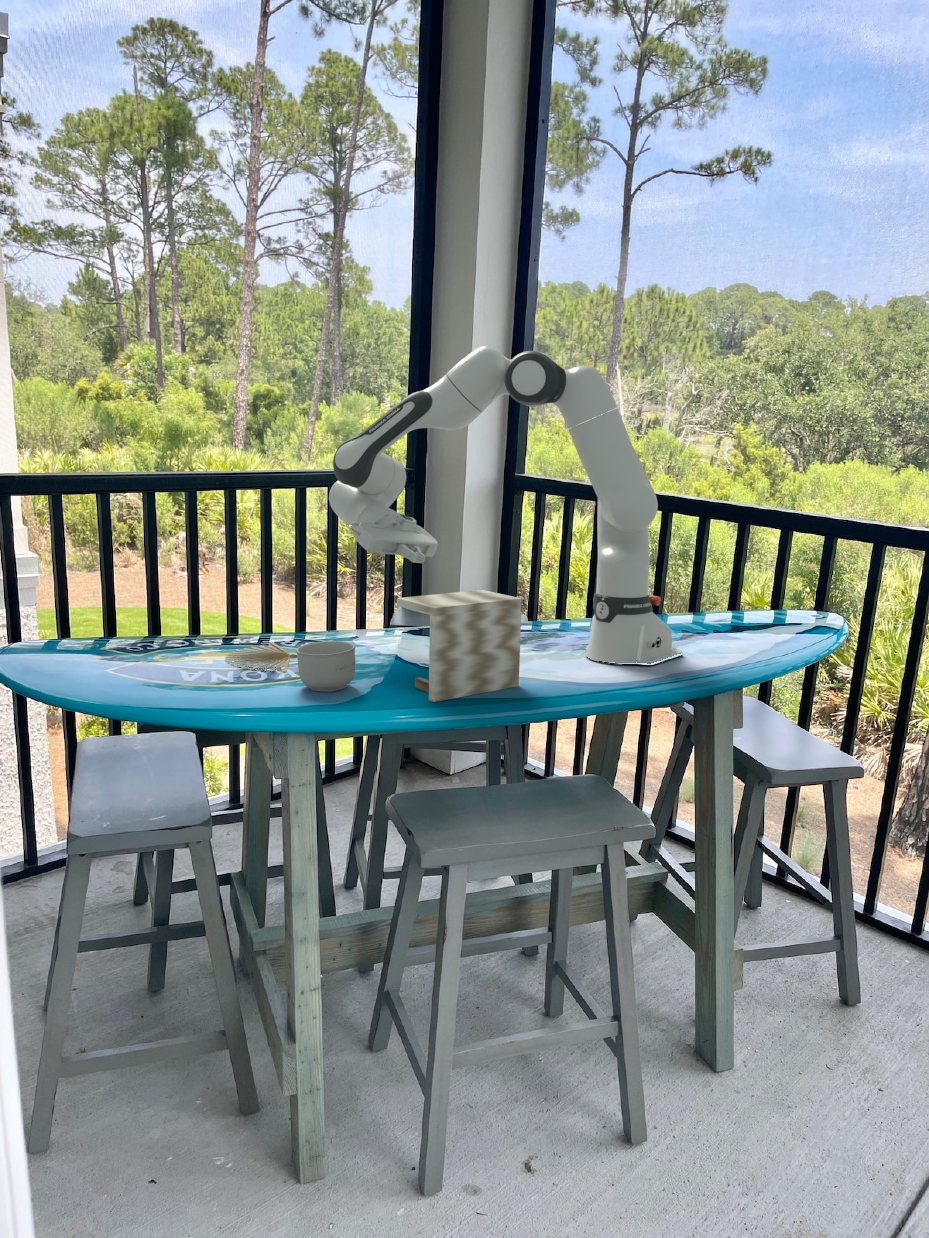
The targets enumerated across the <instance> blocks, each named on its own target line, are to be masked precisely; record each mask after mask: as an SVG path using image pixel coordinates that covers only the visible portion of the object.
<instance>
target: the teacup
mask: <svg viewBox="0 0 929 1238" xmlns="http://www.w3.org/2000/svg"><path fill="white" fill-rule="evenodd" d="M295 653H296V655H297V658H296V659H297V669H298V675H299V679H300V681H301V682H302V684H304V686H306V687H307V688H308V689H310V690H312V691H314V692H319V691H322V692H323V691H324V692H326V691H327V692H335V691H340V690H343V689H344V688H346V687H347V686H348V684H349V683H351V682H352V681H353V679H354V678H355V675H356V646H355V644H354V643H352V642H348V641H339V640H337V641H335V640H334V639H328V640H325V641H318V642H317V641H316V642H310V643H307V644H306V643H305V644H303V645H301V646H299V647H296V650H295ZM324 692H323V693H324Z"/></svg>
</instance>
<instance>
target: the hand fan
mask: <svg viewBox="0 0 929 1238" xmlns="http://www.w3.org/2000/svg"><path fill="white" fill-rule="evenodd" d="M291 659H297V654H295V653H293V654H291V653H288V651H286V650H285V649H284V648H282V647H281V646H280V645H278V644H277V643H275V642H270V643H269V644H268V645H266V644H262V645H259V646H256V645H252V646H251V647H245V648H241V649H238V650H236V651H233V652H231V653H228V654H226V657H225V661H226V663H227V664H229V665H230V664H232V665H234V666H235V665H239V664H245V665H240V666H239V667H245V666H249V665H253V664H257V665H253V666H249V667H256V668H253V669H250V671H251V670H254V669H255V670H257V668H258V669H259V667H260V668H261V667H265V669H266V670H267V668H269V667H273V668H272V669H270V671H271V672H272V671H277V669H278V668H279V667H281V668H283V667H285V668H284V669H283V670H282V669H281V670H282V671H284V673H287V671H288V668H287V667H289V663H290V660H291ZM232 661H234V662H232ZM263 664H265V665H263ZM270 664H272V665H270ZM277 664H278V665H277ZM260 665H262V666H260ZM268 665H270V666H268ZM275 665H277V666H275ZM234 666H233V667H234ZM258 666H259V667H258ZM266 666H268V667H267V668H266ZM274 666H275V667H276V668H277V669H276V668H275V667H274ZM235 667H236V668H237V667H238V666H235ZM249 667H245V668H244V669H246V668H249ZM265 669H264V668H263V670H264V671H263V670H262V669H261V670H259V672H261V671H263V672H265V671H266V670H265ZM275 669H276V670H275ZM255 670H254V671H255Z"/></svg>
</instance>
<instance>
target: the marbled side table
mask: <svg viewBox="0 0 929 1238" xmlns="http://www.w3.org/2000/svg"><path fill="white" fill-rule="evenodd" d="M396 599H397V600H396V602H397V603H396V605H397V607H399V608H403V609H405V610H406V609H407V610H409V611H413V612H417V613H421V614H425V615H428V616H429V644H428V645H429V649H428V650H429V652H428V654H429V655H428V656H429V660H428V662H429V663H428V679H426V678H423V677H421V676H419V677H415V678H414V688H416V689H418V690H421V691H423V692H425V693H428V701H430V702H432V703H436V702H441V701H445V700H447V701H448V700H452V699H458V698H463V697H468V696H473V695H478V694H483V693H490V692H495V691H501V690H505V689H510V688H516V687H519V684H520V662H521V661H520V660H521V655H520V654H521V633H522V631H521V630H522V625H521V624H522V605H523V604H522V603H523V602H522V599H523V598H521V597H516V596H512V595H507V594H504V593H503V594H502V593H498V592H495V591H494V592H493V591H490V590H484V589H476V590H466V591H458V592H457V591H456V592H447V593H446V592H445V593H436V594H426V595H416V596H406V597H397V598H396Z"/></svg>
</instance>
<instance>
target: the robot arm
mask: <svg viewBox="0 0 929 1238" xmlns="http://www.w3.org/2000/svg"><path fill="white" fill-rule="evenodd" d="M506 395H509V396H510V397H511V398H512V399H513V400H515V401H516V402H517V403H519V404H520V405H524V406H526V407H532V408H535V407H541V406H543V405H547V404H553V405H555V406H556V407H557V408H558V410H559V411H560V413H561V415H562V417H563V419H564V422H565V425H566V428H567V430H568V432H569V434H570V437H571V440H572V442H573V445H574V447H575V450H576V453H577V455H578V458H579V460H580V462H581V465H582V466H583V469H584V470H585V472H586V475H587V477H588V479H589V481H590V484H591V486H592V488H593V490H594V493H595V495H596V498H597V511H596V512H597V521H596V522H597V526H596V528H597V566H596V567H597V568H596V588H595V590H596V591H595V592H594V594H593V599H592V601H593V604H592V609H593V610H594V614H593V616H592V619H591V625H590V631H589V638H588V644H587V645H586V646H585V651H586V650H587V651H586V652H585V655H586V656H585V657H586V658H587V657H588V658H587V659H589V658H590V659H589V660H592V661H596V662H599V661H605V662H615V663H636V662H637V663H647V664H651V663H654V662H657V661H661V660H663V659H666V658H668V657H672V656H674V655H677V654H681V653H682V654H683V651H682V650H680V649H678V648H675V647H673V633H672V630H671V628H670V627H669V626H668V625H667V624H666V623H665V622H664V621H663V620H662V619H661V618H660V617H658V616H657V615H656V614H655V613H654V612H653V610H654V608H653V605H654V606H660V605H661V602H662V598H661V597H660V596H657V595H653V594H652V595H651V596H650V595H649V579H650V577H649V576H650V566H651V565H650V563H651V557H650V549H649V548H650V546H649V545H650V544H649V526H650V525H651V524H652V522H653V521H654V520H655V519H656V515H657V514H658V507H659V503H658V499H657V495H656V492H655V491H654V487H653V485H652V484H651V481H650V479H649V477H648V474H647V473H646V470H645V468H644V466H643V464H642V462H641V459H640V458H639V456H638V453H637V451H636V450H635V447H634V446H633V443H632V440H631V438H630V436H629V434H628V431H627V428H626V425H625V424H624V423H625V422H624V420H623V418H622V416H621V415H622V414H621V412H620V410H619V408H618V406H617V402H616V401H615V398H614V396H613V394H612V392H611V390H610V388H609V386H608V385H607V383H606V381H605V379H604V377H602V374H601V373H600V371H599V370H598V369H597V368H595V367H594V366H592V365H586V364H585V365H584V364H583V365H577V366H574V367H571V368H569V369H564V368H563V367H561V366H560V365H559V364H558V363H556V361H555V360H554V359H553V358H552V357H551V356H549V355H548V354H547V353H544V352H541V351H537V350H525V351H523V352H520V353H518V354H516V355H515V356H514V357H512V359H509V358H508V357H506V356H505V355H504V354H503V353H502V352H501V351H500V350H498V349H497V348H494V347H492V346H491V345H482V346H479V347H477V348H475V349H474V350H473V351H471V352H470V353H468V354H466V356H464V357H463V358H461V360H460V361H458V362H457V363H456V364H455V365H453V367H451V369H449V371H447V372H446V374H445V375H443V376H442V377H440V378H439V380H438V381H436V382H435V383H433V384H432V385H431V386H429V387H426V388H425V389H423V390H419V391H416V392H412V393H411V394H409V395H407V396H406V397H405V398H403V399H402V400H400V401H399V402H398V403H397V404H395V405H393V406H392V408H390V409H389V410H388V411H387V412H385V413H384V414H383V415H381V416H380V417H379V418H378V419H377V420H375V421H374V422H373V423H371V424H370V425H369V426H367V427H366V428H365V429H364V430H362V431H361V432H359V433H358V434H357V435H354V436H352V437H350V438H348V439H346V440H345V441H344V442H342V443H341V444H339V446H338V448H337V449H336V451H335V453H334V455H333V460H332V461H333V462H332V468H333V473H334V475H335V478H336V479H337V481H336V482H334V484H332V486H331V488H330V490H329V494H328V501H329V506H330V507H331V509H332V511H333V512H334V513H335V514H336V516H337V517H338V518H339V519H340V520H341V521H342V522H343V523H344V524H345V525H346V526H347V527H349V530H350V531H351V533H353V534H354V535H353V537H354V539H355V540H356V542H357V543H358V544H359V545H360V546H361V547H362V548H363V549H364V550H365V551H367V552H369V553H371V554H381V555H395V556H396V555H398V556H401V557H402V558H404V559H408V560H409V561H410V562H411V563H417V564H423V563H424V562H425V560H426V558H433V557H434V556H435V554H436V552H437V549H438V547H439V543H438V541H437V539H436V538H434V536H433V535H431V534H430V533H429V532H428V531H427V530H426V529H424V528H423V527H422V526H420V525H418V524H417V520H416V519H415V518H414V517H411V516H408V515H405V514H403V513H399V512H397V511H396V510H394V509H392V508H390V507H391V506H392V505H393V504H394V503H395V501H396V500H397V499H398V498H399V497H400V495H401V494H402V493H403V491H404V490H405V487H406V484H407V470H406V468H405V466H404V465H403V463H401V462H400V461H399V460H396V459H395V458H394V457H392V456H390V455H388V454H386V453H384V452H385V451H387V450H388V449H389V448H391V447H392V446H393V445H394V444H396V443H397V442H398V441H399V440H400V439H401V438H403V437H404V436H405V435H407V434H408V433H410V432H411V431H414V430H418V429H437V430H443V431H459V430H462V429H464V428H465V427H467V426H468V425H470V424H472V422H474V421H475V420H476V419H478V417H479V416H480V415H481V414H482V413H483V412H484V411H485V410H486V409H487V408H488V407H489V406H490V405H492V403H493V402H494V401H496V400H497V399H498V398H500V397H502V396H506Z"/></svg>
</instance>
